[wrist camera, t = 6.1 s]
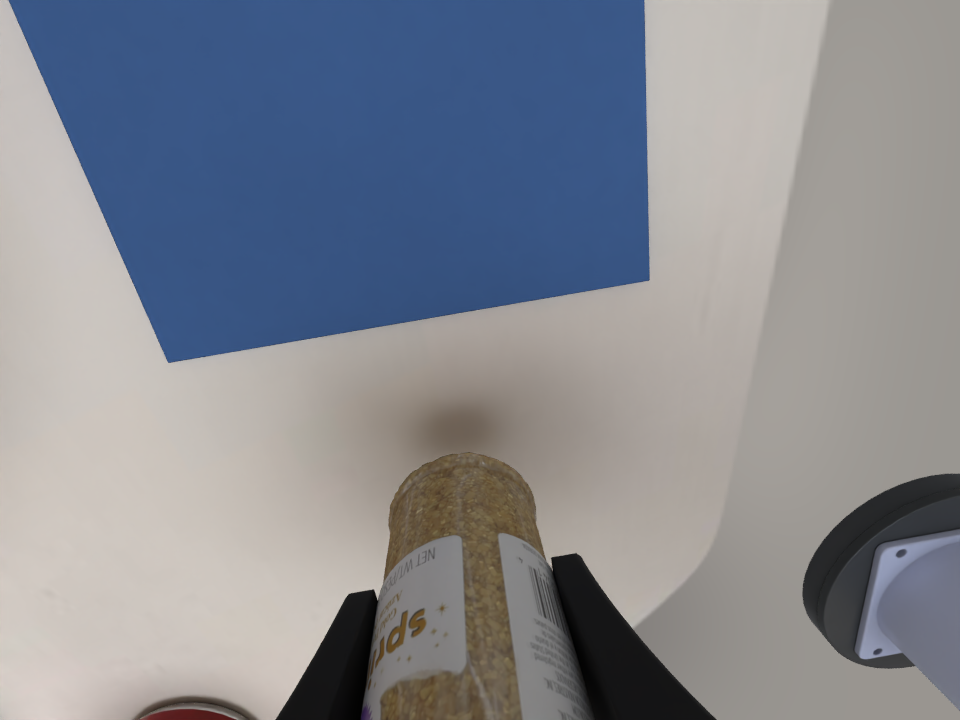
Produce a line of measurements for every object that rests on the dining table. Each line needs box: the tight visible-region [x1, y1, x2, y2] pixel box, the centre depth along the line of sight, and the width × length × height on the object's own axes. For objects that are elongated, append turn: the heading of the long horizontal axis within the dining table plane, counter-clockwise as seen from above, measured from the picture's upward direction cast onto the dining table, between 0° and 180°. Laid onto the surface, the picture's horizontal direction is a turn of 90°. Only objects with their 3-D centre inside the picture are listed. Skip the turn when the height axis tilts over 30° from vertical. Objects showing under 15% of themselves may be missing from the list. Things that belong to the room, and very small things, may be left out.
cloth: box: [9, 0, 650, 363], centre depth 15 cm, size 18×12×1 cm, turn 99°
